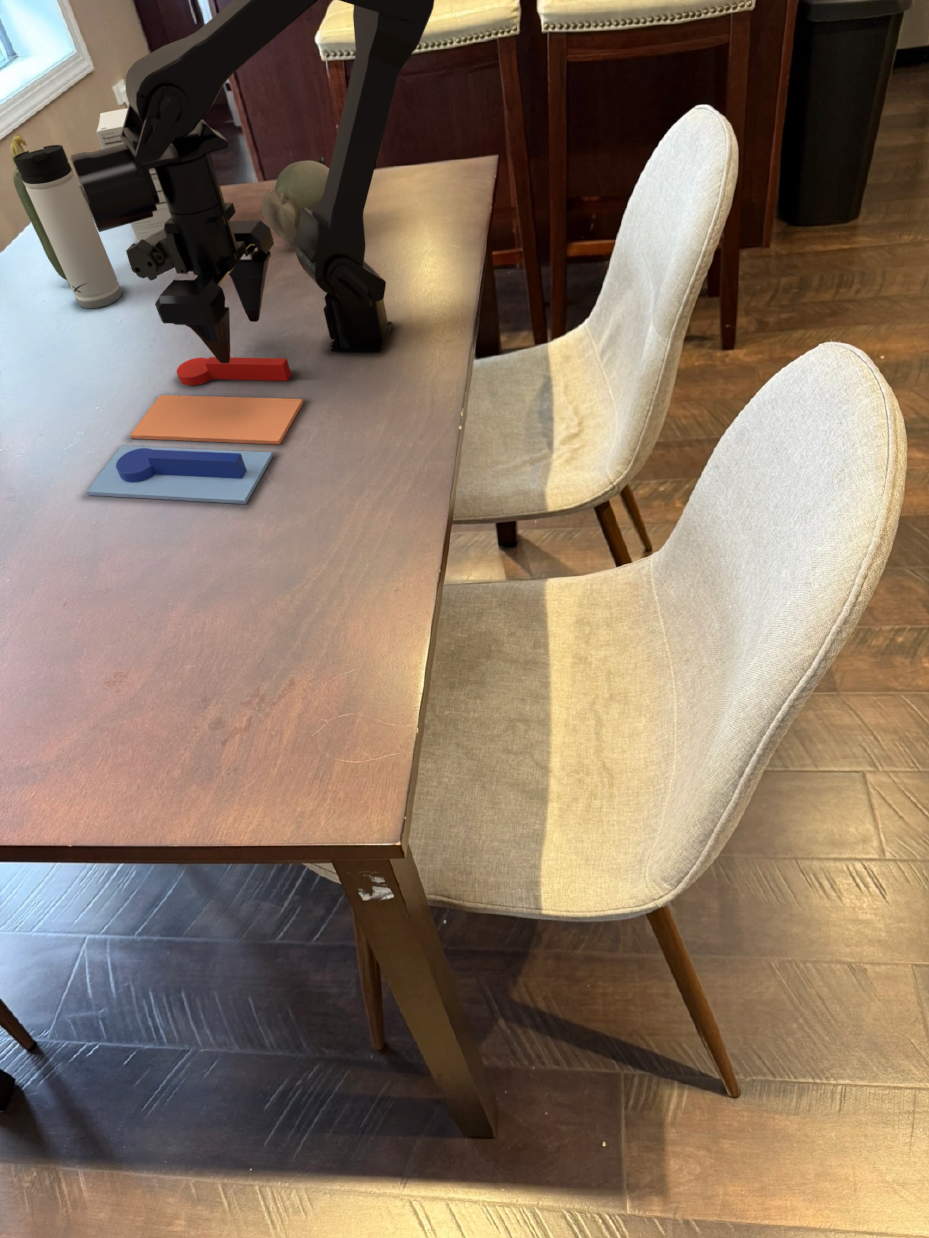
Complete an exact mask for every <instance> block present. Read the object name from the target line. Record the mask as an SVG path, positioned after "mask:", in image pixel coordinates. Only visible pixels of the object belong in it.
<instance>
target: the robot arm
mask: <svg viewBox="0 0 929 1238" xmlns="http://www.w3.org/2000/svg"><path fill="white" fill-rule="evenodd" d="M318 1H319V0H231V2H230V3H228V4H227V5H226V6H225V7H223V8H222V9H221V10H220V11H218V13H217V14H215V15H214V16H213V17H212V18H211V19H210V20H208V21H207V22H206V23H205V24H204V25H203V26H202V27H201V28H199V29H198V30H196V31H195V32H194V33H192V34H190V35H188V36H186V37H183V38H181V39H178V40H176V41H173V42H170V43H167V44H165V45H162V46H161V47H159V48H157V49H156V50H154V51H152V52H150V53H148V54H146V55H144V56H143V57H141V58H139V59H138V60H136V61H135V62H133V64H132V65H131V66H130V67H129V69H127V73H126V74H125V95H126V98H127V101H128V106H127V108H128V110H127V114H126V118H125V121H124V125H123V129H122V132H121V136H120V139H121V141H122V142H123V143H124V144H121V145H118V146H114V147H110V148H106V149H103V150H102V149H100V150H95V151H84V152H78V153H74V154H71V156H70V161H71V164H72V166H73V169H74V172H75V175H76V176H77V177H76V178H77V181H78V183H79V184H80V185H79V188H80V190H81V193H82V195H83V197H84V200H85V202H86V205H87V207H88V209H89V212H90V214H91V216H92V219H93V221H94V224H95V226H96V228H97V231H98V233H101V232H105V231H109V230H112V229H115V228H118V227H122V226H126V225H131V224H130V223H133V222H136V221H140V220H143V219H147V218H150V217H153V211H157V207H156V204H158V203H160V201H159V197H158V194H157V191H156V188H155V185H154V182H153V180H152V177H151V174H150V172H149V169H152V168H154V169H155V172H156V175H157V178H158V180H159V183H160V186H161V189H162V192H163V195H164V198H165V201H166V204H167V206H168V210H169V213H170V216H171V217H170V218H169V219H168V220H167V222H166V223H165V225H164V229H163V230H161V231H159V232H157V233H155V234H153V235H151V236H150V237H148V238H147V239H145V240H143V239H142V240H140V241H139V242H137V243H135V242H134V243H132V244H131V245H130V246H129V247H128V248H127V249H125V253H126V256H127V260H128V263H129V265H130V270H131V272H133V273H134V274H135V275H136V276H137V277H139V278H141V279H146V278H147V279H148V280H149V281H154V280H157V278H158V276H160V275H163V274H164V273H167V272H169V271H171V270H173V269H174V268H175V272H176V274H177V275H187V274H188V273H191V272H192V273H193V275H194V276H196V277H195V278H194V279H173V280H172V281H171V282H170V283H169V285H167V286H166V287H165V289H164V290H163V291H162V292H161V294H159V296H158V298H157V300H155V301H156V302H155V303H154V305H155V308H156V311H157V314H158V316H159V319H160V321H161V323H163V324H173V325H175V326H186V327H187V328H189V329H191V330H192V332H194V333H195V334H196V335H197V336H198V337H199V339H200V340H201V341H202V342H203V344H204V345H205V346H206V347H207V349H208V350H209V351H210V352H211V353H212V355H213V357H216V358H217V359H218V361H219V362H220V363H229V362H230V357H231V324H230V323H231V320H230V317H231V316H230V307H229V306H226V295H225V292H224V289H223V287H221V285H222V284H223V282H224V281H225V280H226V279H227V277H228V276H229V277H230V278H231V281H232V283H233V286H234V288H235V291H236V293H237V295H238V298H239V300H240V304H241V306H242V308H243V310H244V313H245V314H246V317H247V318H248V321H249V322H251V323H252V322H253V323H258V322H259V320H260V316H261V310H262V303H263V296H264V290H265V285H266V278H267V273H268V268H269V262H270V259H271V257H272V251H270V250H271V249H272V247H274V245H275V242H274V239H273V234H272V231H271V230H272V229H271V228H270V227H269V225H268V224H267V223H265V222H263V221H262V220H261V219H254V220H253V219H252V220H250V219H249V220H231V219H232V218H233V216H234V215H235V214H236V213H237V212H236V209H235V204H234V202H225V201H226V200H225V198H224V195H223V192H222V188H221V184H220V181H219V178H218V175H217V172H216V168H215V165H214V162H213V158H212V155H211V153H215V152H219V151H222V150H224V149H225V150H226V149H228V148H229V146H230V143H229V141H228V140H227V139H226V138H225V137H224V135H222V133H220V132H219V131H217V130H215V129H214V128H212V127H210V126H209V124H207V122H205V120H204V117H205V116H206V115H207V113H208V112H209V111H210V110H211V108H212V107H213V105H214V104H215V102H216V100H217V98H218V97H219V94H220V93H221V90H222V88H224V87H223V86H224V85H225V84H226V83H227V81H229V79H230V78H231V76H232V75H233V74H235V72H237V71H239V69H241V67H243V66H244V65H245V64H246V63H247V62H248V61H249V60H251V59H252V58H253V57H254V56H256V54H258V53H259V52H261V50H262V49H263V48H265V47H266V46H267V45H268V44H269V43H270V42H272V41H273V40H274V39H275V38H277V36H279V35H280V34H281V33H282V32H283V31H284V30H286V29H287V28H288V27H289V26H290V25H292V23H294V22H295V21H296V20H297V19H298V18H300V17H301V16H303V14H304V13H305V12H306V11H308V10H309V9H310V8H311V7H313V5H315V4H316V3H317V2H318ZM339 1H340V2H342V3H346V4H350V5H352V6H353V11H352V12H353V13H352V23H353V32H354V45H355V54H354V55H355V56H354V61H353V64H352V69H351V72H350V77H349V82H348V86H347V90H346V94H345V100H344V103H343V108H342V113H341V116H340V120H339V125H338V130H337V133H336V138H335V143H334V147H333V151H332V154H331V155H332V156H331V159H330V164H329V167H328V168H329V173H328V177H327V181H326V186H325V190H324V194H323V196H322V198H321V200H320V201H319V203H318V204H317V206H316V207H315V208H314V210H313V211H311V210H308V209H306V208H304V207H302V208H301V210H300V215H299V228H298V231H297V234H296V235H295V237H294V239H293V240H292V241H291V243H292V244H294V245H295V247H296V252H295V253H296V259H297V261H298V263H299V265H300V267H301V269H302V270H303V271H304V272H305V273H306V274H307V275H308V276H309V277H310V279H312V281H313V282H314V283H315V284H316V286H317V287H319V288H320V289H321V290H322V291H323V292H324V293H326V294H325V296H324V302H325V305H324V307H323V315H324V318H325V322H326V327H327V331H328V337H329V338H330V340H332V342H331V344H330V346H329V348H330V349H329V350H330V352H348V353H349V352H350V353H351V352H352V353H353V352H354V353H355V352H357V353H379V352H381V351H382V350H383V348H384V346H385V344H386V342H387V340H388V338H389V336H390V334H391V332H392V329H394V323H393V322H392V321H388V317H387V310H386V305H385V299H384V298H385V294H386V293H385V292H386V285H387V282H386V280H385V279H384V278H383V277H382V276H381V275H380V274H379V273H378V272H377V271H375V269H374V268H373V267H371V266H370V264H368V263H367V262H366V261H365V256H366V233H365V223H364V221H365V220H364V211H365V207H366V203H367V199H368V195H369V193H370V188H371V184H372V179H373V176H374V172H375V168H376V164H377V160H378V157H379V153H380V149H381V145H382V141H383V136H384V132H385V129H386V125H387V121H388V117H389V114H390V110H391V106H392V101H393V98H394V94H395V90H396V85H397V83H398V79H399V76H400V72H401V70H402V68H403V67H404V66H405V64H406V62H407V61H408V60H409V59H410V57H411V56H412V54H413V53H414V51H415V50H416V49H417V47H418V46H419V44H420V42H421V40H422V37H423V35H424V32H425V30H426V28H427V25H428V23H429V21H430V18H431V16H432V13H433V10H434V6H435V0H338V2H339Z"/></svg>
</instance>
